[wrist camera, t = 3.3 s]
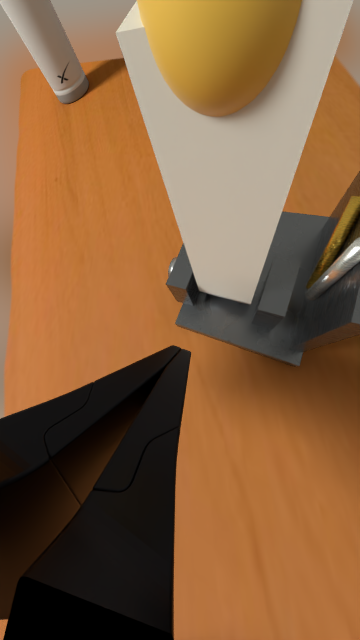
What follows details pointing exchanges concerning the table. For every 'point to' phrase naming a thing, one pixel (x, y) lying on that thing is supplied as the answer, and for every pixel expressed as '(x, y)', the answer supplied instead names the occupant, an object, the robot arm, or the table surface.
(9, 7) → the travel mug
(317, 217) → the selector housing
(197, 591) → the table surface
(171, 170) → the selector lever
